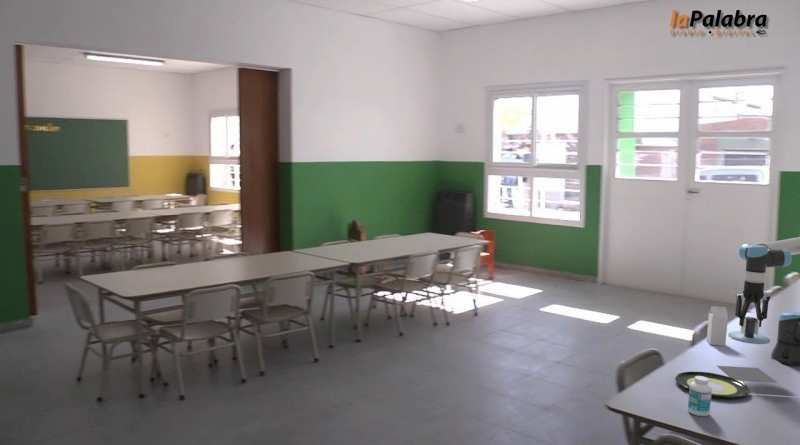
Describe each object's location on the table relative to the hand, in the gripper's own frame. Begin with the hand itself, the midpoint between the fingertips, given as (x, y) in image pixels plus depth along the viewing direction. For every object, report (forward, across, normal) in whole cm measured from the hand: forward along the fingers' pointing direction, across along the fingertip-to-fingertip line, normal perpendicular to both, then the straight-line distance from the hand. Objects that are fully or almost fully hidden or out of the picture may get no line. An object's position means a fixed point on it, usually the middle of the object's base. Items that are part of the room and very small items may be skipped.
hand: (749, 333), depth 277 cm
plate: (+20, +21, +18) cm, 34 cm away
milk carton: (+19, -5, -46) cm, 50 cm away
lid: (+2, 0, 0) cm, 2 cm away
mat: (+19, 0, 0) cm, 19 cm away
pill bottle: (+19, +36, +45) cm, 61 cm away
